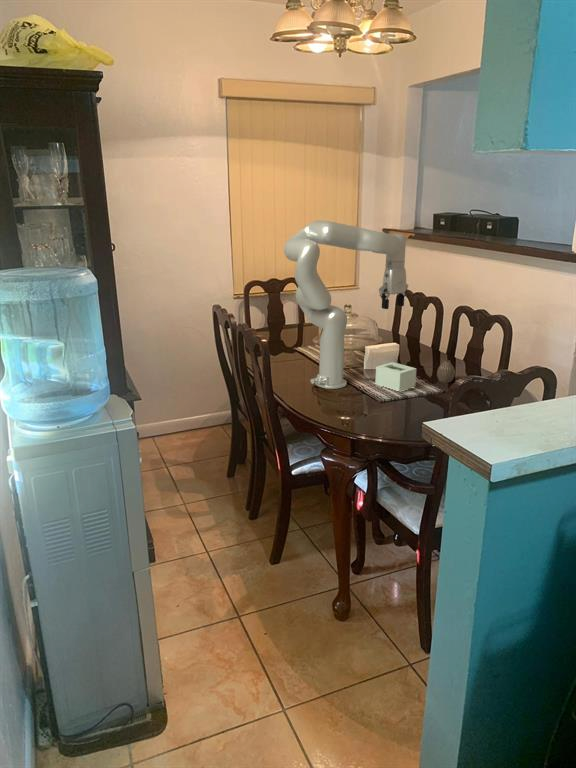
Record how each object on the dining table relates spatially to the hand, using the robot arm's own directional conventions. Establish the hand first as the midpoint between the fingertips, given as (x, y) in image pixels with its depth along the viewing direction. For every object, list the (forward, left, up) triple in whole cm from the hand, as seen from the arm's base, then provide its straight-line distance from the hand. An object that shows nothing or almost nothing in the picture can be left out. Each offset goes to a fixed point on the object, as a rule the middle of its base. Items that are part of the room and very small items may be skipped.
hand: (392, 307), depth 234 cm
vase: (+8, -23, -29) cm, 37 cm away
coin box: (-13, -14, -28) cm, 34 cm away
